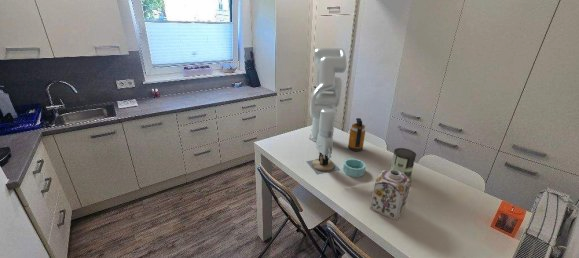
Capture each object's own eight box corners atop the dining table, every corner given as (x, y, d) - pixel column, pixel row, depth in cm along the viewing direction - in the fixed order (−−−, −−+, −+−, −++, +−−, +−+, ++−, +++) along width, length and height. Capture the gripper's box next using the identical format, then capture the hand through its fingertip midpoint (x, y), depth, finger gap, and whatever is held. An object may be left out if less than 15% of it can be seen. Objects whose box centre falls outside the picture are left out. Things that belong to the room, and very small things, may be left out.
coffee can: (407, 172, 134) (413, 148, 129) (412, 183, 125) (418, 158, 120) (387, 169, 136) (392, 146, 131) (390, 180, 127) (396, 156, 121)
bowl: (339, 168, 136) (339, 160, 134) (356, 165, 140) (357, 157, 138) (350, 179, 127) (351, 171, 125) (368, 175, 130) (369, 167, 128)
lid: (308, 161, 141) (309, 152, 138) (327, 158, 145) (328, 149, 142) (318, 173, 130) (318, 163, 128) (338, 169, 134) (339, 159, 132)
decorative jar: (379, 195, 115) (386, 161, 108) (405, 207, 109) (414, 171, 102) (368, 209, 107) (375, 173, 100) (396, 222, 100) (405, 184, 93)
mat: (306, 162, 141) (306, 161, 141) (328, 158, 146) (328, 157, 146) (317, 175, 129) (317, 174, 129) (340, 170, 134) (340, 169, 134)
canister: (361, 145, 162) (365, 117, 154) (364, 154, 152) (369, 123, 144) (347, 145, 163) (350, 116, 155) (349, 153, 153) (353, 122, 145)
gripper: (312, 127, 136) (310, 156, 143) (327, 139, 121) (324, 171, 128) (325, 125, 138) (322, 154, 145) (340, 137, 124) (336, 169, 131)
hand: (323, 162), depth 137 cm, fingers closed on lid, 3 cm apart
